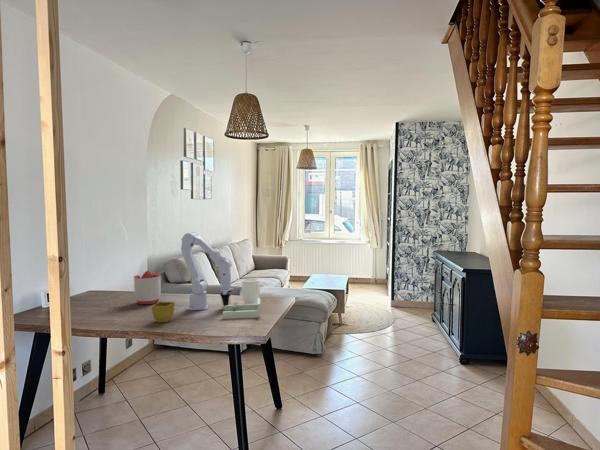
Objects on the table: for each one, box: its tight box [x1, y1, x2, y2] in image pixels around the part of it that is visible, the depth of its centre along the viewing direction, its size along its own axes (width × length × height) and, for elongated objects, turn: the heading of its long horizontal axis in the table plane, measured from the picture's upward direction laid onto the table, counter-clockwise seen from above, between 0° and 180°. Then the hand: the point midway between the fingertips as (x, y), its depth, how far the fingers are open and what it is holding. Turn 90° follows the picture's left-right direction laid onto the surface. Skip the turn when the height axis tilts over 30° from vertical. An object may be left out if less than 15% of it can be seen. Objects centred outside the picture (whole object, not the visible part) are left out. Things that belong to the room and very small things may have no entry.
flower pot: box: [151, 301, 175, 323], centre depth 204 cm, size 9×9×9 cm
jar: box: [241, 278, 261, 305], centre depth 236 cm, size 11×10×15 cm
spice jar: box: [220, 291, 232, 311], centre depth 227 cm, size 6×6×9 cm
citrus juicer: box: [133, 270, 162, 305], centre depth 245 cm, size 16×17×20 cm
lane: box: [222, 297, 262, 320], centre depth 215 cm, size 20×15×7 cm
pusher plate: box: [233, 302, 238, 311], centre depth 214 cm, size 2×11×5 cm, turn 6°
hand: (226, 304), depth 228 cm, fingers closed on spice jar, 5 cm apart
